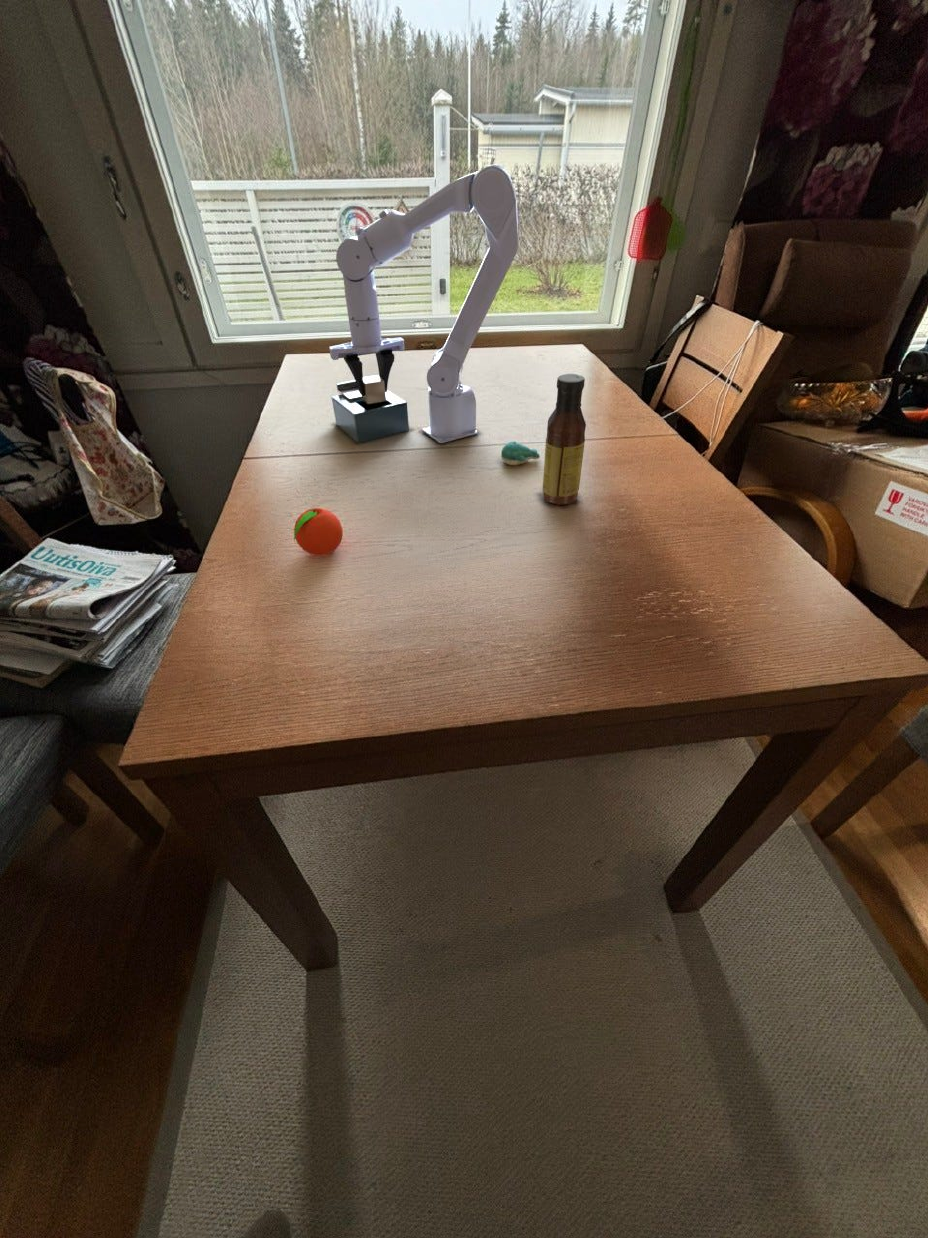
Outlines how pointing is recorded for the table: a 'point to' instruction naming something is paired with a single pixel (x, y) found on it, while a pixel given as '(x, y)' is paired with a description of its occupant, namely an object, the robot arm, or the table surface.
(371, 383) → the block
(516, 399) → the table surface
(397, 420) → the sliding lid box
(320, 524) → the clementine
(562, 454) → the sauce bottle
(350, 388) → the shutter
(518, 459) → the whale figurine
